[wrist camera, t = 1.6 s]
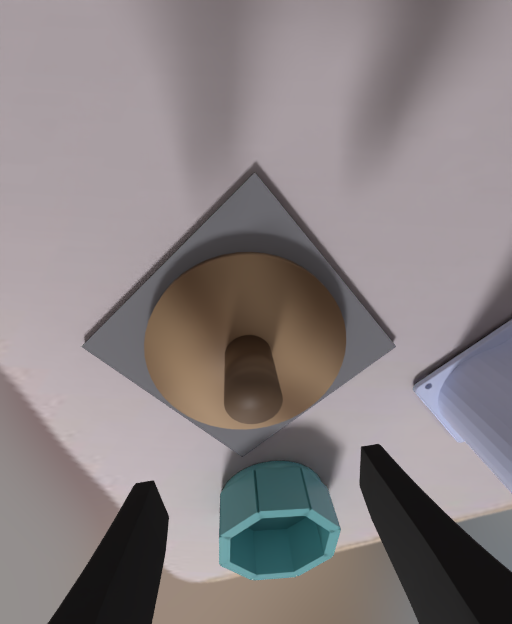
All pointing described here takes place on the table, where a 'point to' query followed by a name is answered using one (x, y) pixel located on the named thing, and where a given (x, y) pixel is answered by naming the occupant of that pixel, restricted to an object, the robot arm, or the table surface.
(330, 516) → the bowl
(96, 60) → the table surface
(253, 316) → the lid
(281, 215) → the mat
